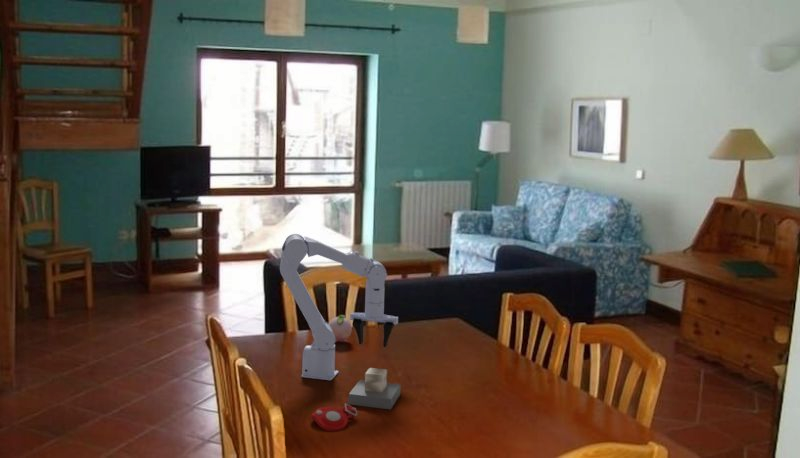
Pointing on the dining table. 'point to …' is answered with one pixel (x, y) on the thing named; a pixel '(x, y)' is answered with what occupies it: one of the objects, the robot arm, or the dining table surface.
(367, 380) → the cream cube
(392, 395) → the gray base
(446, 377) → the dining table surface
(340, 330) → the decorative fruit
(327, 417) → the tracker holder
